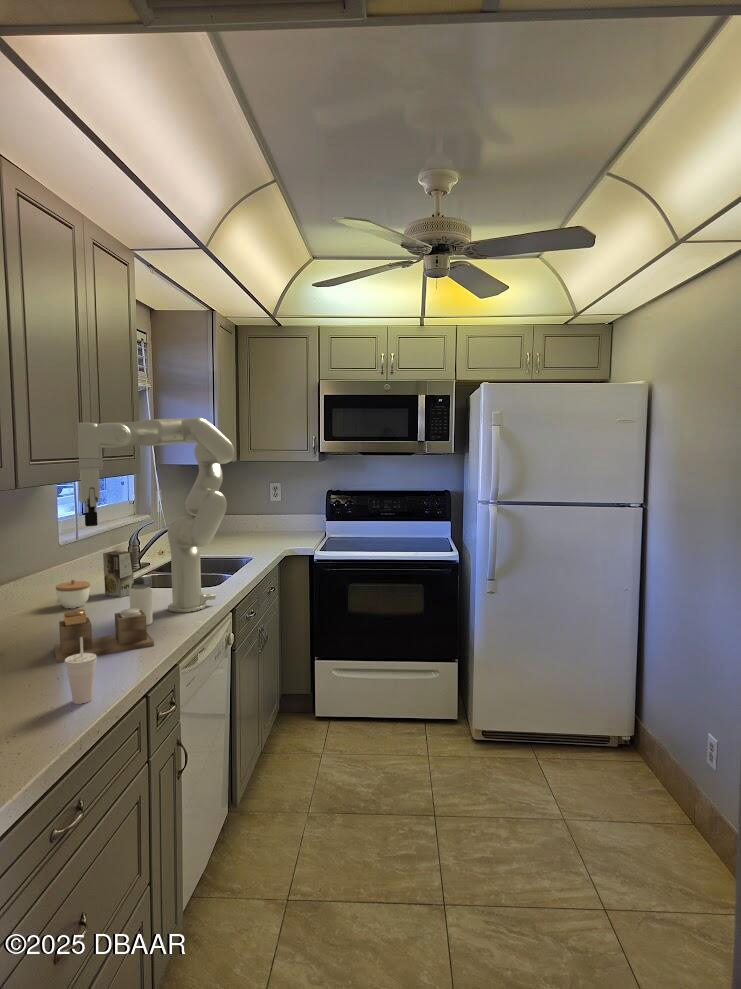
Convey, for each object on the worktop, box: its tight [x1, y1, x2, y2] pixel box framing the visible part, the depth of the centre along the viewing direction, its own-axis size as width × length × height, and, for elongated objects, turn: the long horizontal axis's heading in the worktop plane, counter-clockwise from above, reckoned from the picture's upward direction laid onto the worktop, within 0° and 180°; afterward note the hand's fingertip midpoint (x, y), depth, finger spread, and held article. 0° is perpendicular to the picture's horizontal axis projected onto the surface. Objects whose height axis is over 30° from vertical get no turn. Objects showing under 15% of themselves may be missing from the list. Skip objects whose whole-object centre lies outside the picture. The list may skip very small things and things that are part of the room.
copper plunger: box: [63, 608, 87, 627], centre depth 159 cm, size 5×5×8 cm
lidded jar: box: [55, 579, 91, 609], centre depth 205 cm, size 11×11×9 cm
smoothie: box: [64, 637, 98, 705], centre depth 128 cm, size 6×6×14 cm
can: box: [129, 584, 154, 627], centre depth 184 cm, size 6×6×12 cm
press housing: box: [53, 610, 155, 663], centre depth 163 cm, size 24×12×8 cm, turn 122°
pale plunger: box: [118, 608, 141, 618], centre depth 166 cm, size 5×5×8 cm
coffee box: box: [102, 550, 135, 598], centre depth 221 cm, size 9×6×16 cm
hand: (91, 525), depth 175 cm, fingers closed
